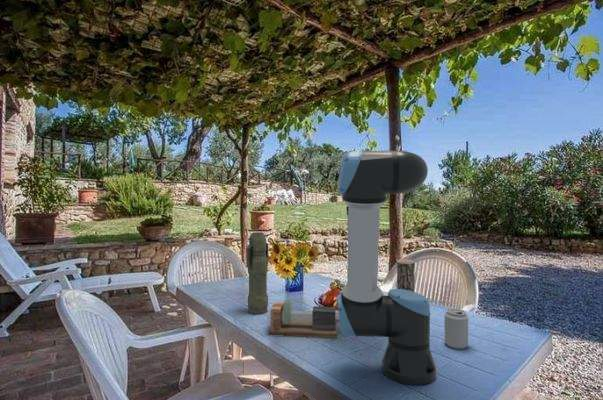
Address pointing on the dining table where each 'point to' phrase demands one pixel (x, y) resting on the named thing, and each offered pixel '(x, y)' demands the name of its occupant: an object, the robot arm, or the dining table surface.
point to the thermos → (257, 273)
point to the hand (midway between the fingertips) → (351, 244)
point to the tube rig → (305, 323)
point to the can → (456, 328)
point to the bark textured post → (405, 274)
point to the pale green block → (294, 314)
